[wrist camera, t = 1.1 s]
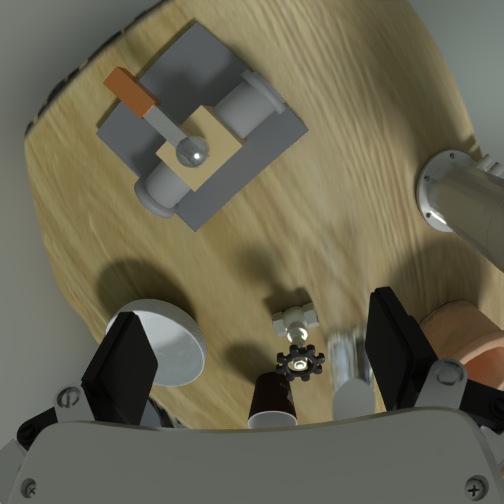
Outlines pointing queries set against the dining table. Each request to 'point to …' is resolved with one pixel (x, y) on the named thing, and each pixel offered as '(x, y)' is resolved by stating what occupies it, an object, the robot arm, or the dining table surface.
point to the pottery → (467, 341)
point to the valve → (297, 341)
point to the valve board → (181, 100)
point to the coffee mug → (272, 403)
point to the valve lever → (158, 117)
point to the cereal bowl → (170, 340)
